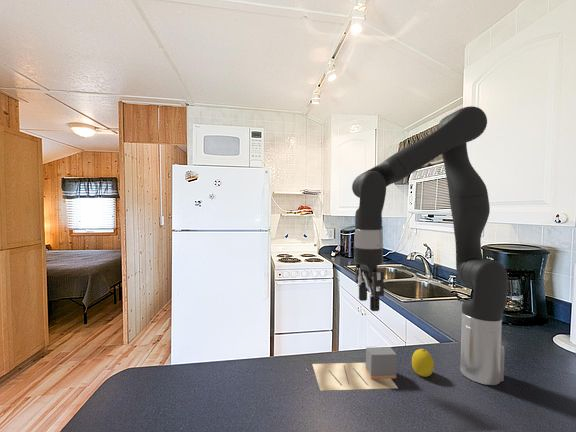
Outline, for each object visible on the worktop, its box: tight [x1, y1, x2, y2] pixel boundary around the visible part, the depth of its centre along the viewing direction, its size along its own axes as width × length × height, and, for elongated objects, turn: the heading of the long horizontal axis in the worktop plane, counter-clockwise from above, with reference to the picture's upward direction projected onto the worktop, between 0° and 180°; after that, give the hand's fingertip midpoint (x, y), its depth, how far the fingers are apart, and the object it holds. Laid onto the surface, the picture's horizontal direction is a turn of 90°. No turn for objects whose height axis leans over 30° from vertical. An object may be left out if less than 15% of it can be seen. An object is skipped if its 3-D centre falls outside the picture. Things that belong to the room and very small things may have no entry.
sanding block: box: [365, 346, 398, 380], centre depth 75 cm, size 7×4×6 cm, turn 95°
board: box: [312, 362, 399, 392], centre depth 75 cm, size 20×12×1 cm, turn 95°
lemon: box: [411, 348, 435, 378], centre depth 76 cm, size 6×6×8 cm
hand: (368, 305), depth 75 cm, fingers open, 8 cm apart
